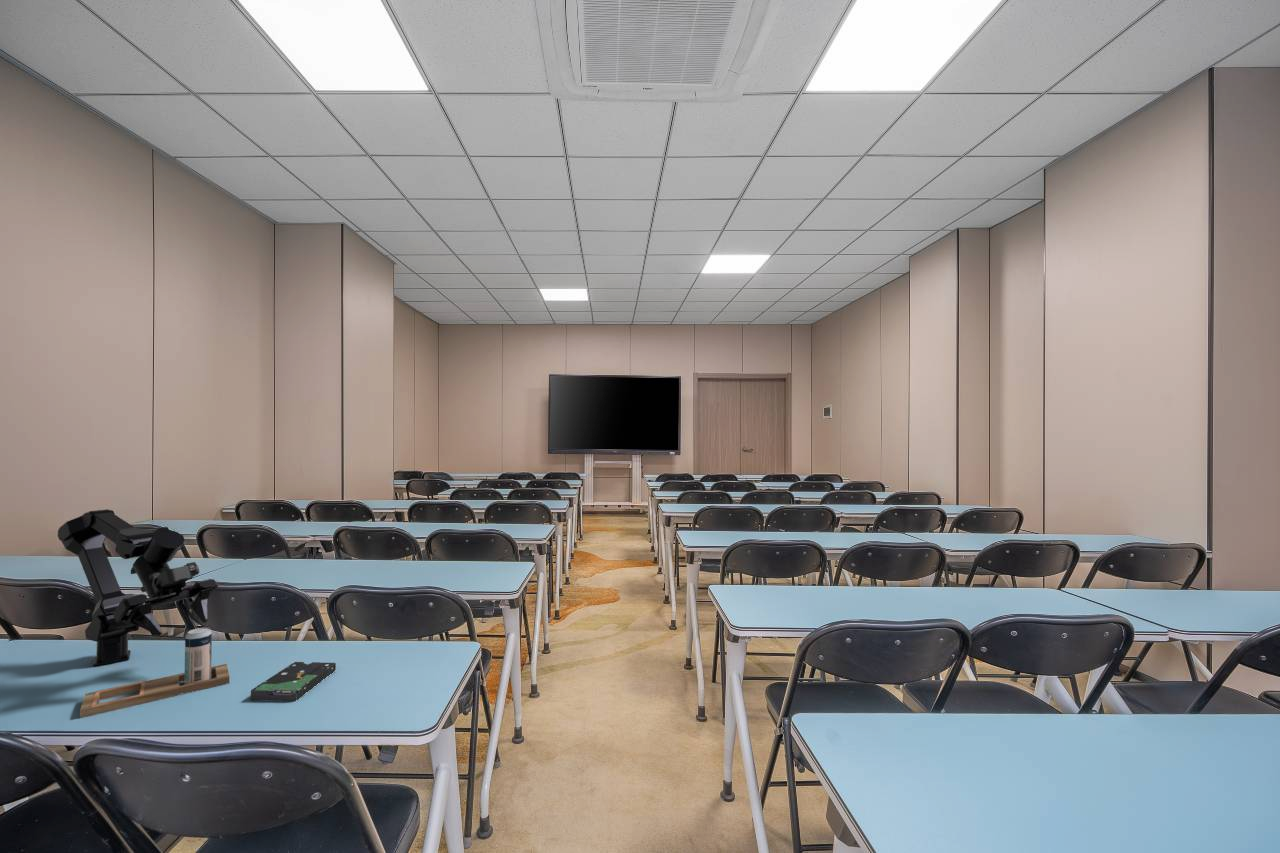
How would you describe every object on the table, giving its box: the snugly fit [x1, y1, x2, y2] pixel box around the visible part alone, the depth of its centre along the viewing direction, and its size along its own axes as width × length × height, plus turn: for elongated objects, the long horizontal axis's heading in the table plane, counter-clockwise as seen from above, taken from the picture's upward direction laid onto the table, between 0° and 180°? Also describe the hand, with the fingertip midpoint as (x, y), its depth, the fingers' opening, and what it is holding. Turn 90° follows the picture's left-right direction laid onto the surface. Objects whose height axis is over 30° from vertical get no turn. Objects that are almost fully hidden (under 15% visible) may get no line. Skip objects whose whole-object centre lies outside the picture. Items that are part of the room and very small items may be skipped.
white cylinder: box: [183, 627, 213, 685], centre depth 125 cm, size 5×5×12 cm
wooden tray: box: [79, 663, 230, 719], centre depth 121 cm, size 9×24×2 cm, turn 130°
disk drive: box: [250, 661, 337, 702], centre depth 125 cm, size 10×3×15 cm
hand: (184, 627), depth 127 cm, fingers open, 9 cm apart
